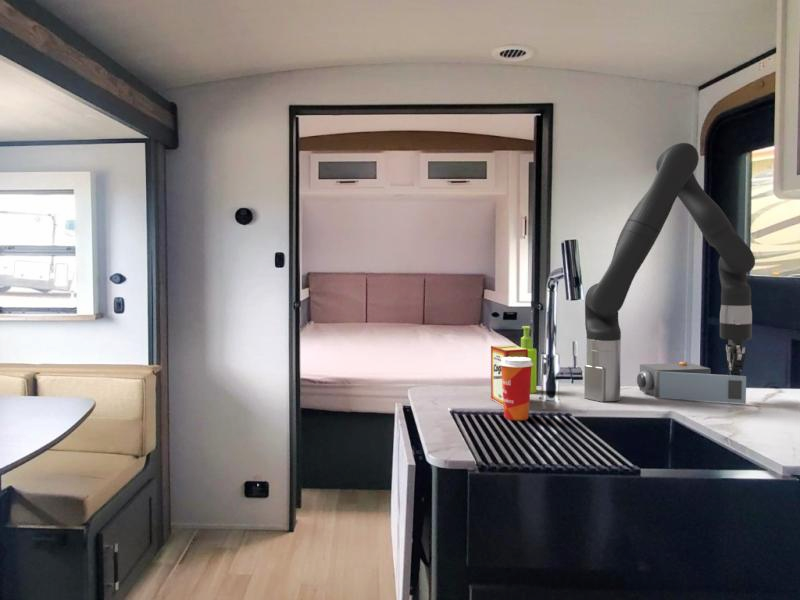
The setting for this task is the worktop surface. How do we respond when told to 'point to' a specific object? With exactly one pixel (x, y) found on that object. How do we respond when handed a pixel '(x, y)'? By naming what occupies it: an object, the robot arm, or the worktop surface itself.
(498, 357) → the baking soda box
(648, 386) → the camera housing
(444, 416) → the worktop surface
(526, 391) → the coffee cup
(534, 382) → the soap dispenser
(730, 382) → the side door
